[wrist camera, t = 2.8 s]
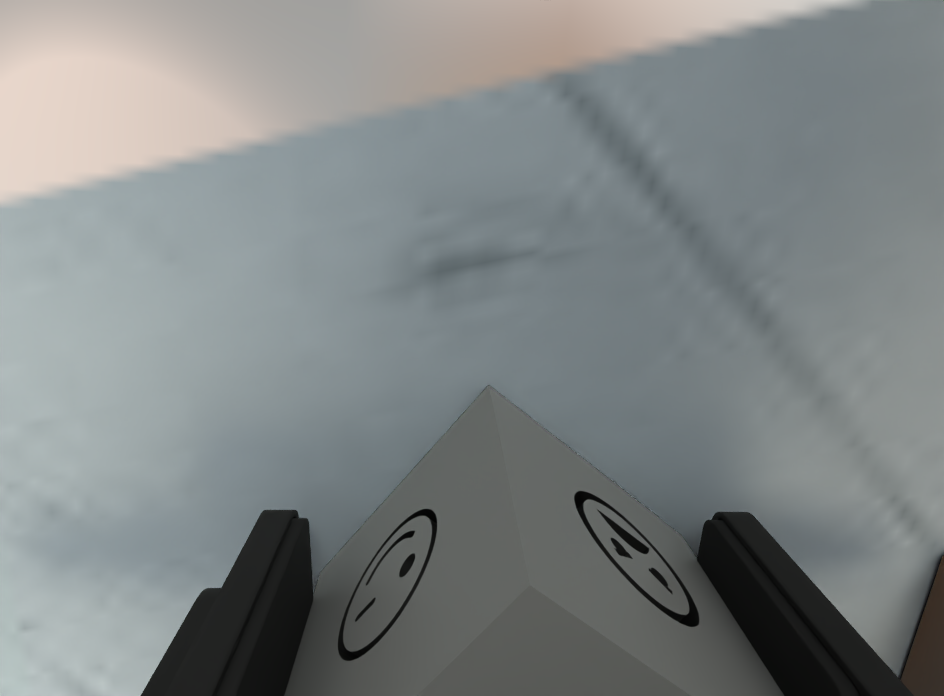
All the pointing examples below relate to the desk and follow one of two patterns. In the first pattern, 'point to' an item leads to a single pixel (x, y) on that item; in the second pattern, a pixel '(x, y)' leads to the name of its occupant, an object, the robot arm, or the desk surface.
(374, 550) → the dice cube
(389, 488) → the desk surface
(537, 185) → the desk surface
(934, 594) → the walnut block
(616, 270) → the desk surface
